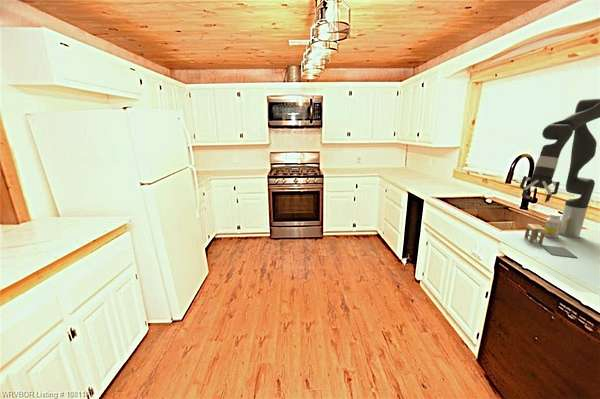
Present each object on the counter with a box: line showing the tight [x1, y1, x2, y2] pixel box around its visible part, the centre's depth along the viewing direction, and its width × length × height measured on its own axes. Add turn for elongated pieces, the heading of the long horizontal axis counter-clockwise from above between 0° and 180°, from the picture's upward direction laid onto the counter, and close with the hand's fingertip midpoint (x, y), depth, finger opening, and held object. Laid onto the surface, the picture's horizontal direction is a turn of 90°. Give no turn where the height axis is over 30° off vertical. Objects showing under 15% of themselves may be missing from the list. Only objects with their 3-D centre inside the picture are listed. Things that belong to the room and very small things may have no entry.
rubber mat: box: [540, 244, 578, 259], centre depth 145 cm, size 12×10×1 cm
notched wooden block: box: [524, 223, 545, 245], centre depth 158 cm, size 5×8×8 cm
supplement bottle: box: [543, 212, 562, 239], centre depth 163 cm, size 7×7×13 cm
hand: (534, 199), depth 140 cm, fingers open, 8 cm apart
